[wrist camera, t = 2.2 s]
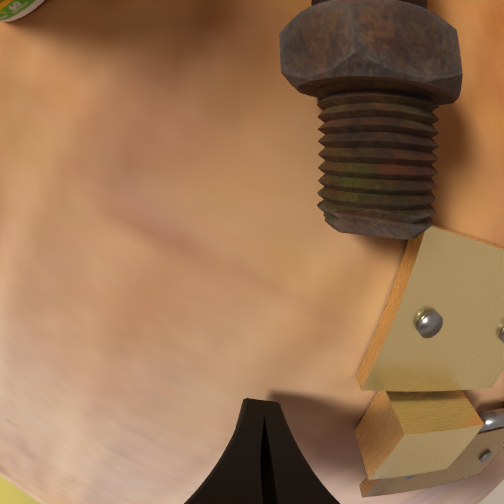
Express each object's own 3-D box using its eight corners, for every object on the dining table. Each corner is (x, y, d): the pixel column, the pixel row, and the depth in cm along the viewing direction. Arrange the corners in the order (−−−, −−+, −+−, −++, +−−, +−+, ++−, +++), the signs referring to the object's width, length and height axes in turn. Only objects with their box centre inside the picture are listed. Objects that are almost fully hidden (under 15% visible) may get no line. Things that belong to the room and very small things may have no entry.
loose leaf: (452, 424, 13) (473, 461, 10) (328, 429, 13) (338, 481, 10) (537, 260, 10) (580, 284, 7) (414, 218, 10) (464, 245, 7)
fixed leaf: (480, 463, 15) (494, 490, 12) (359, 485, 15) (368, 524, 12) (547, 374, 12) (570, 400, 9) (434, 382, 12) (462, 428, 9)
